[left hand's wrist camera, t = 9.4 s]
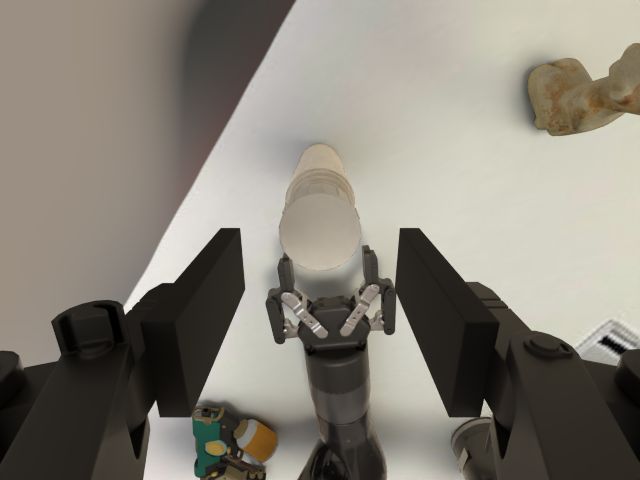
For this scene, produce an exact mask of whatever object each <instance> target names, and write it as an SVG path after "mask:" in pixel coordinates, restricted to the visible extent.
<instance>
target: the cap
mask: <svg viewBox="0 0 640 480" xmlns="http://www.w3.org/2000/svg"><path fill="white" fill-rule="evenodd" d="M359 219H360V218H359V215H358V212H357V210H356V208H354V205H353V203H352V201H351V199H350V196H347V194H345V193H344V192H343V191H342V190H340V189H339V188H338V187H335V186H332V185H329V184H324V183H317V184H311V185H309V184H308V185H307V186H305V187H303V188H301V189H300V190H298V191H297V192H296V191H295V192H294V194H293V196H292V197H291V198H290V199H289V201H288V203H286V205H285V207H284V210H283V216H282V219H281V222H280V225H279V238H280V242H281V245H282V248H283V249H284V251H285V253H286V254H287V255H288V257H289V258H290V259H291V260H292V261H294V262H295V263H296V264H298V265H300V266H302V267H304V268H307V269H310V270H317V271H323V270H330V269H333V268H336V267H338V266H340V265H342V264H344V263H345V262H346V261H348V260H349V259H350V258H351V257H352V255H353V254H354V253H355V251H356V249H357V247H358V245H359V242H360V237H361V226H360V222H359Z"/></svg>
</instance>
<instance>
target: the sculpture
mask: <svg viewBox="0 0 640 480" xmlns="http://www.w3.org/2000/svg"><path fill="white" fill-rule="evenodd" d="M527 86H528V93H529V97H530V100H531V104H532V106H533V109H534V111H535V114H536V119H535V120H534V124H535V126H536V127H537V128H538V129H542V130H545V129H546V130H547V132H548V133H549V134H550V135H551V136H564V135H571V134H577V133H582V132H587V131H591V130H594V129H597V128H600V127H603V126H605V125H607V124H609V123H611V122H613V121H614V120H616V119H617V118H619V117H620V116H622V115H623V114H624V113H632V114H637V115H640V44H639V43H634V44H632V45H630V46H629V47H628V48H627V49H626V50H625V52H624V53H623V55H622V57H621V59H620V60H618V61H616V62H615V63H613V64H612V65H611V67H610V68H609V76H608V77H605V78H602V79H598V80H595V81H592V79H591V78H590V76H589V74H588V73H587V71H586V70H585V68H584V67H583V65H582V64H581V63H580V62H579V61H578V60H576V59H573V58H565V59H560V60H559V61H556V62H554V63H553V64H552V66H551V65H549V64H544V65H541V66H539V67H537V68H536V69H535V70H533V71H532V72H531V74H530V76H529V79H528V85H527Z"/></svg>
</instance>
